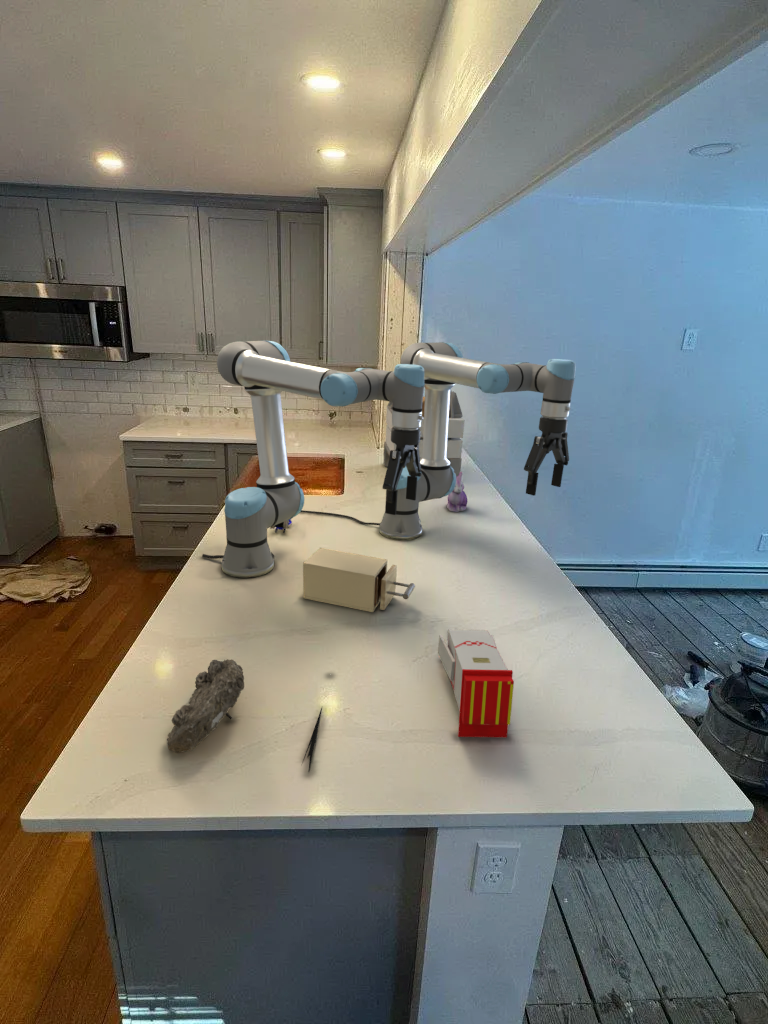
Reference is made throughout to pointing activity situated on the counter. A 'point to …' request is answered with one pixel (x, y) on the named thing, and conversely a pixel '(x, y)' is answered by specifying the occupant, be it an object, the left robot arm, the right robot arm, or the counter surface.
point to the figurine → (457, 496)
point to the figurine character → (282, 526)
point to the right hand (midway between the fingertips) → (543, 490)
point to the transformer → (452, 441)
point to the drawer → (389, 587)
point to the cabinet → (342, 578)
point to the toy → (478, 682)
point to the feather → (313, 740)
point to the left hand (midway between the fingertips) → (401, 506)
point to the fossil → (206, 705)
